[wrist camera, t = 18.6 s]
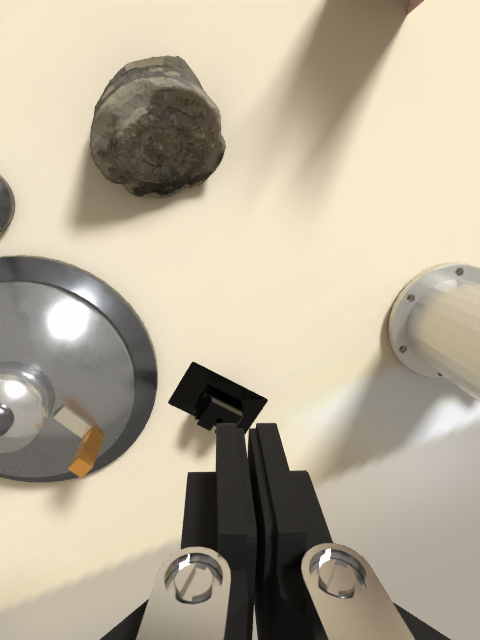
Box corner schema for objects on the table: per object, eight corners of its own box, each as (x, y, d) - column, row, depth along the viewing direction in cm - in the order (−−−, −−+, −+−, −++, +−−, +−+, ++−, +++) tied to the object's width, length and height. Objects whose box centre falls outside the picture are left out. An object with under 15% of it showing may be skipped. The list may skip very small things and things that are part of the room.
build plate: (151, 400, 44) (146, 422, 40) (184, 344, 42) (183, 361, 38) (248, 446, 47) (254, 472, 42) (283, 396, 45) (292, 417, 41)
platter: (8, 232, 36) (-31, 240, 30) (178, 374, 41) (174, 405, 35) (-125, 386, 39) (-186, 423, 32) (50, 500, 44) (27, 550, 38)
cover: (8, 346, 37) (-18, 367, 33) (70, 393, 39) (54, 419, 35) (-39, 397, 38) (-72, 424, 34) (24, 441, 40) (1, 472, 36)
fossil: (155, 228, 38) (93, 185, 28) (104, 157, 40) (30, 93, 30) (248, 151, 36) (217, 77, 27) (191, 80, 38) (142, -13, 28)
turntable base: (200, 332, 42) (200, 335, 41) (94, 507, 46) (92, 513, 45) (-37, 204, 36) (-44, 204, 35) (-131, 418, 41) (-139, 423, 40)
